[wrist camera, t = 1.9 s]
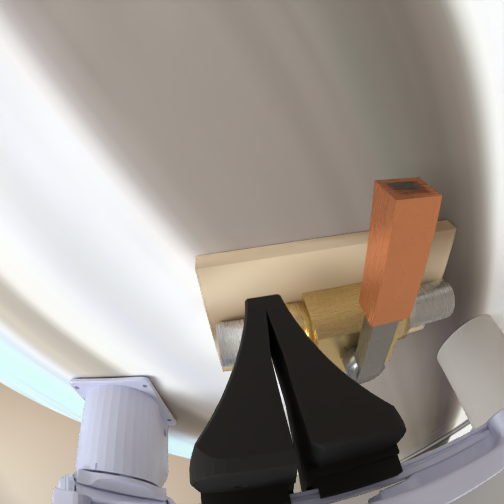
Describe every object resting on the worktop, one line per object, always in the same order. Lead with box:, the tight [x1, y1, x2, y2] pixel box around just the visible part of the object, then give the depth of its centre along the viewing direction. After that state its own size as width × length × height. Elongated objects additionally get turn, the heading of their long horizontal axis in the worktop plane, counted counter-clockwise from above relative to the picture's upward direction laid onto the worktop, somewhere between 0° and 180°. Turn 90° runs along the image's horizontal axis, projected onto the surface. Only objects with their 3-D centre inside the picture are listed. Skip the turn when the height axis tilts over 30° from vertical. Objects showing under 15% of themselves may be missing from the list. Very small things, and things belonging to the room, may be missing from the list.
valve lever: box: [342, 177, 442, 384], centre depth 14 cm, size 12×2×2 cm, turn 5°
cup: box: [437, 315, 504, 429], centre depth 25 cm, size 8×8×12 cm
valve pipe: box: [216, 280, 455, 372], centre depth 19 cm, size 4×16×4 cm, turn 95°
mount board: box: [195, 220, 456, 372], centre depth 21 cm, size 10×17×1 cm, turn 95°
